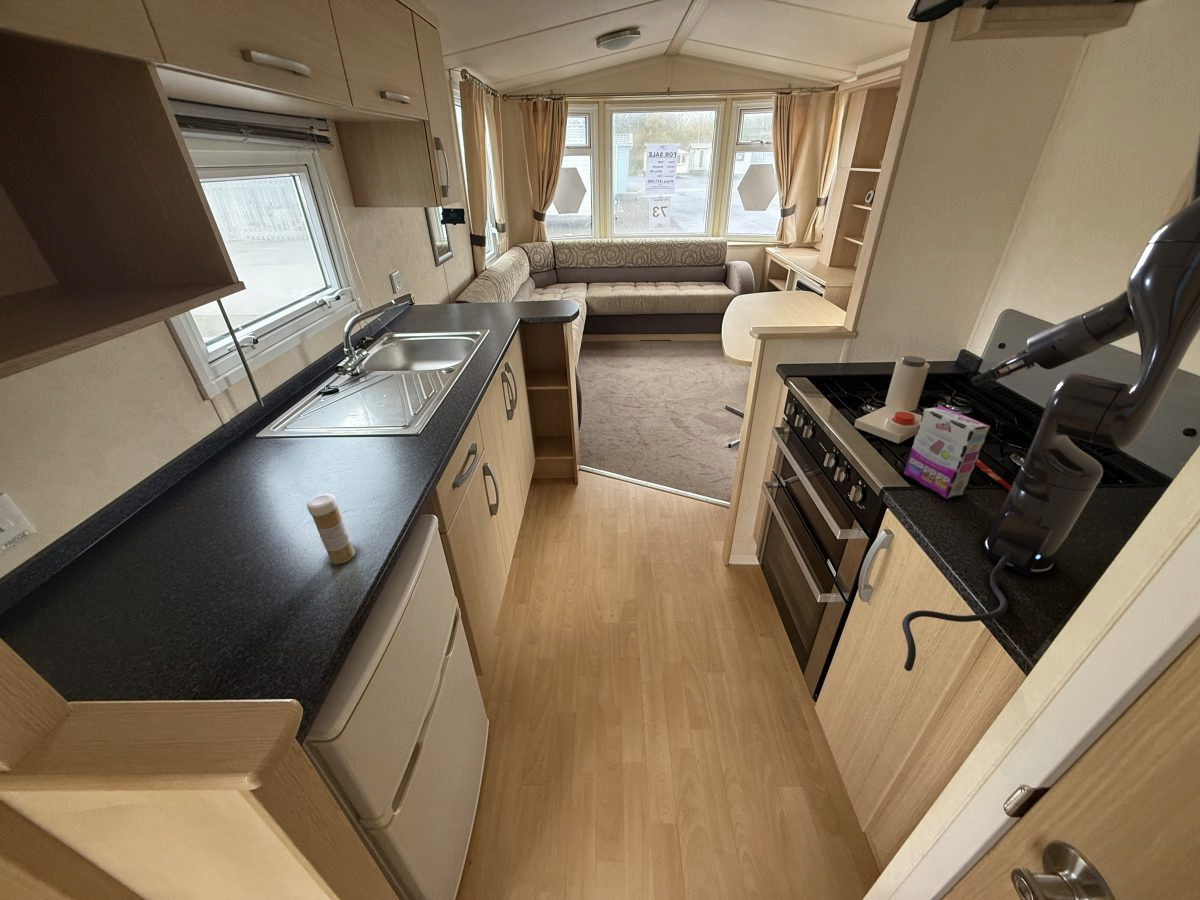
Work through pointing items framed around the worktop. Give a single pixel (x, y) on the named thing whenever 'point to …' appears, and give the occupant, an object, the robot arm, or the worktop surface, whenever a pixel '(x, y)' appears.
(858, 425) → the cream square base
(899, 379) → the white canister
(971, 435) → the candy bar box
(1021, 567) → the robot arm
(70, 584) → the worktop surface
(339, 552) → the sprinkles bottle
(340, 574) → the worktop surface
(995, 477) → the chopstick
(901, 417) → the switch
